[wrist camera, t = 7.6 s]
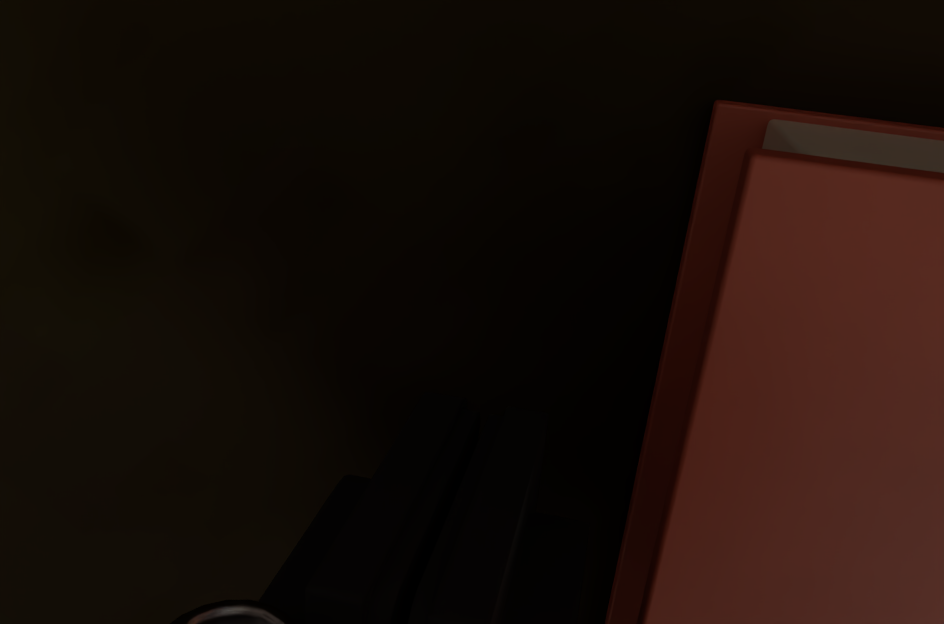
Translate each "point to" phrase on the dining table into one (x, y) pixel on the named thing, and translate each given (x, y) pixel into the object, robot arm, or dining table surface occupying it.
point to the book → (798, 384)
